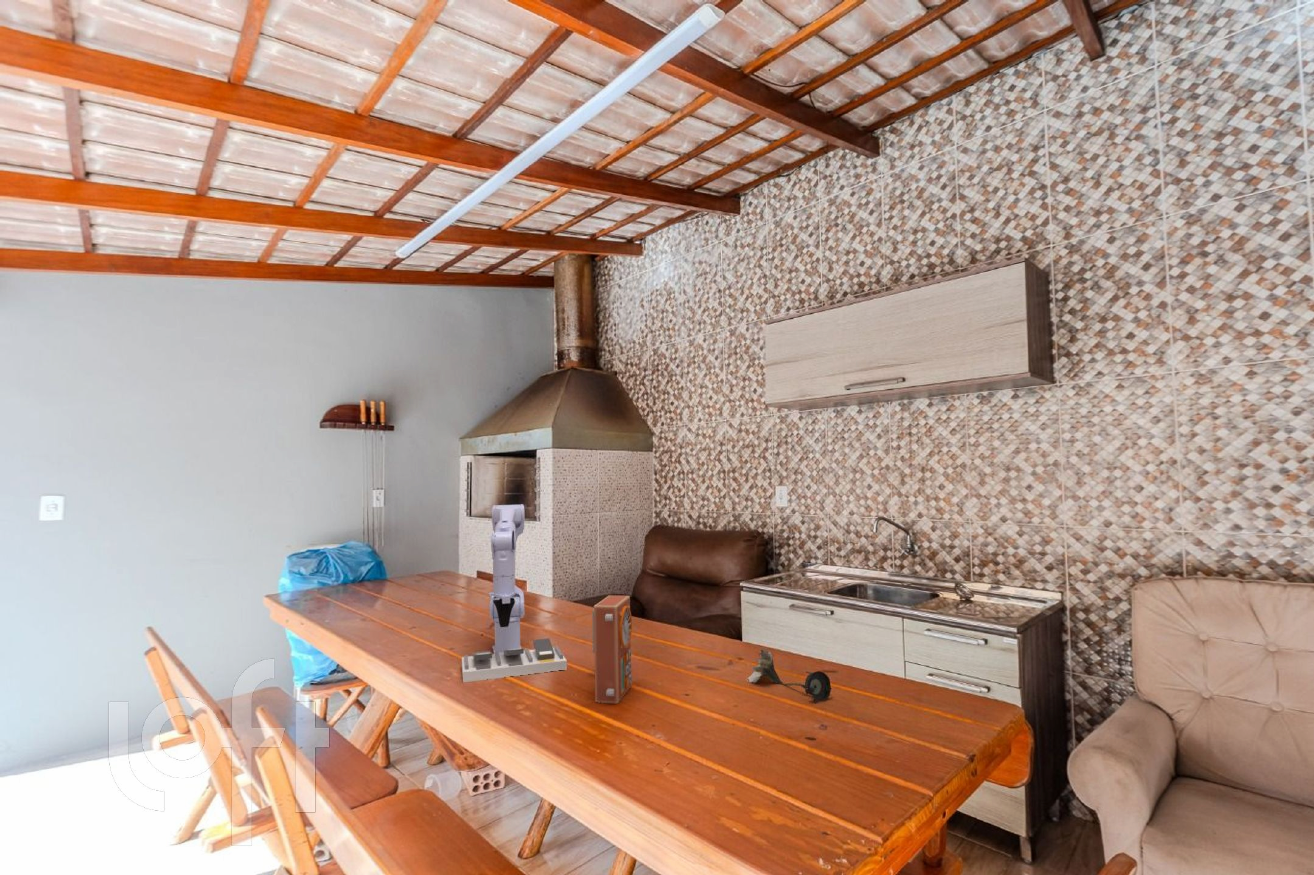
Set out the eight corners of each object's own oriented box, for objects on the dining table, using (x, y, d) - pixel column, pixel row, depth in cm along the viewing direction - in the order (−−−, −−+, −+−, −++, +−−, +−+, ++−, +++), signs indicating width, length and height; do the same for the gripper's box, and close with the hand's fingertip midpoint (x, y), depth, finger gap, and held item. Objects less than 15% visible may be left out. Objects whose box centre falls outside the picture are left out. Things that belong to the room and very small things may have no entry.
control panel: (635, 683, 155) (619, 706, 140) (608, 682, 156) (589, 704, 141) (634, 594, 156) (618, 607, 141) (606, 594, 157) (587, 606, 143)
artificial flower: (807, 713, 137) (793, 669, 138) (746, 695, 157) (733, 656, 157) (836, 694, 142) (821, 651, 142) (773, 679, 161) (760, 641, 161)
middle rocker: (503, 655, 173) (503, 649, 173) (520, 653, 174) (520, 648, 175) (506, 655, 165) (506, 649, 165) (523, 653, 166) (523, 648, 166)
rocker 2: (533, 643, 176) (533, 639, 175) (549, 642, 177) (549, 637, 177) (537, 659, 167) (537, 655, 167) (554, 658, 169) (554, 653, 168)
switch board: (461, 666, 172) (461, 653, 172) (558, 656, 180) (558, 643, 180) (463, 682, 159) (463, 668, 159) (566, 670, 167) (566, 656, 167)
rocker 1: (473, 657, 170) (472, 651, 171) (490, 655, 172) (489, 650, 172) (474, 660, 162) (474, 654, 162) (492, 658, 163) (492, 652, 164)
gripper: (487, 573, 179) (487, 622, 178) (490, 579, 166) (490, 633, 164) (512, 571, 181) (513, 620, 180) (518, 578, 168) (518, 630, 167)
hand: (504, 626), depth 173 cm, fingers closed
